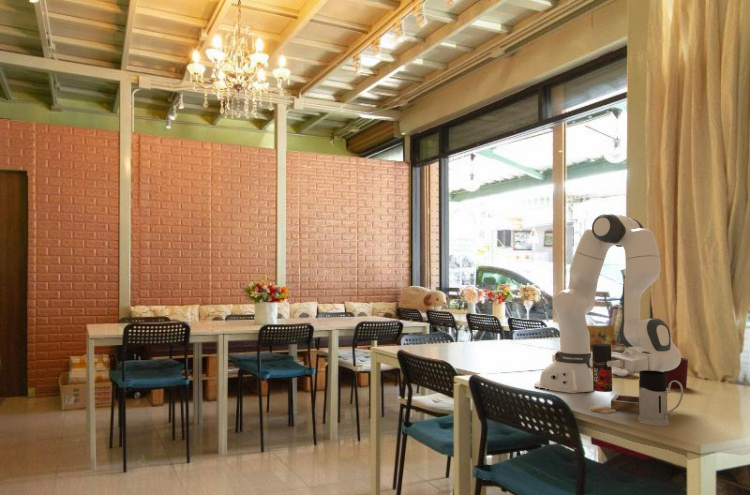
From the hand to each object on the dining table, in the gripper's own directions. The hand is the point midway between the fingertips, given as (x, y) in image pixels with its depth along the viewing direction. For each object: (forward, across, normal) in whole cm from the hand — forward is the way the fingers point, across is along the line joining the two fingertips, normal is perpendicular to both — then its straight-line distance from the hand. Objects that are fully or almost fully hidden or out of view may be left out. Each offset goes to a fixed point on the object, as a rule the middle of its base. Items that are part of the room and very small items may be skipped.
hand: (599, 362), depth 196 cm
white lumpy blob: (-49, -54, +16) cm, 74 cm away
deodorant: (-1, 0, +10) cm, 10 cm away
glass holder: (-8, +19, +16) cm, 26 cm away
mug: (-51, -26, +16) cm, 60 cm away
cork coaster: (-1, 0, +16) cm, 16 cm away
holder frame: (-12, 0, +16) cm, 20 cm away
